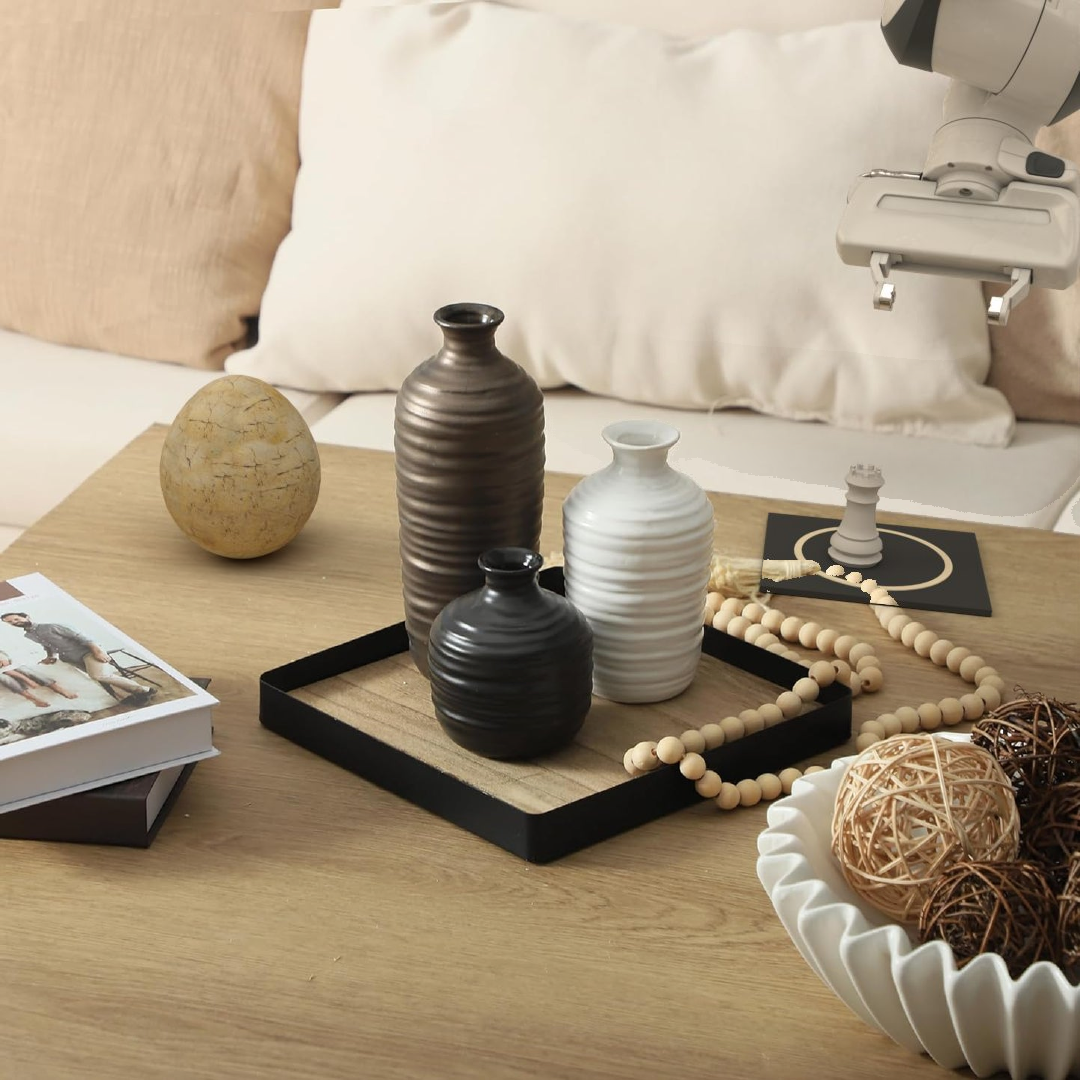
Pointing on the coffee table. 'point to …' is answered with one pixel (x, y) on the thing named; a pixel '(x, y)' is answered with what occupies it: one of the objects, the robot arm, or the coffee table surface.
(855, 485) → the rook chess piece
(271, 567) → the coffee table surface
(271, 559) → the coffee table surface
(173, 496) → the fossilized egg
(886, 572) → the black circle mat
